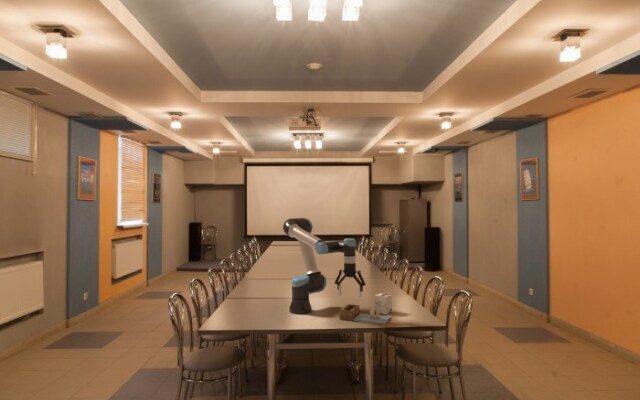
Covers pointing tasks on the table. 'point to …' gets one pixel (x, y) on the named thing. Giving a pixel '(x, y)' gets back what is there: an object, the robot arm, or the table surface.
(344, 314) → the hollow block
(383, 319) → the post board
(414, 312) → the table surface
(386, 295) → the ink box
